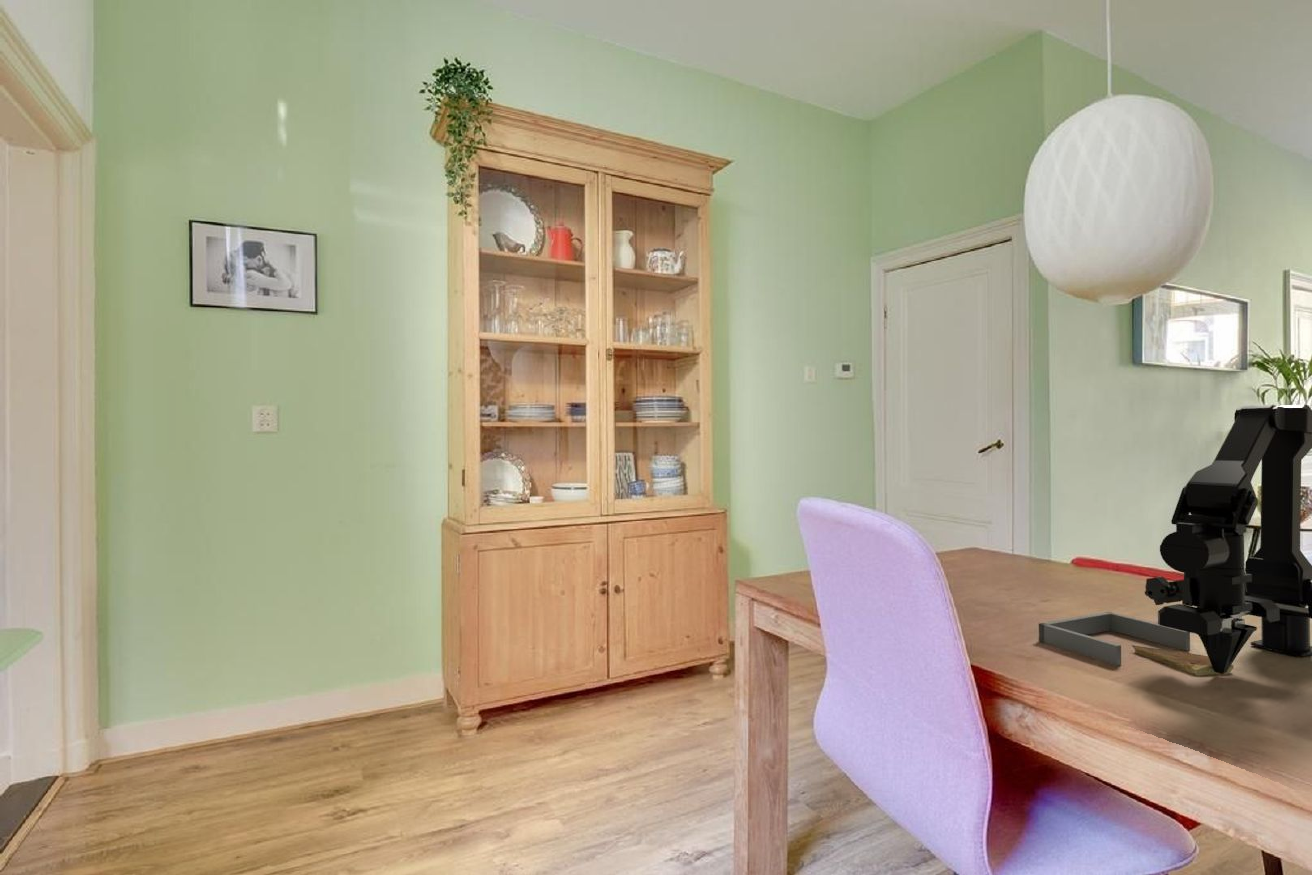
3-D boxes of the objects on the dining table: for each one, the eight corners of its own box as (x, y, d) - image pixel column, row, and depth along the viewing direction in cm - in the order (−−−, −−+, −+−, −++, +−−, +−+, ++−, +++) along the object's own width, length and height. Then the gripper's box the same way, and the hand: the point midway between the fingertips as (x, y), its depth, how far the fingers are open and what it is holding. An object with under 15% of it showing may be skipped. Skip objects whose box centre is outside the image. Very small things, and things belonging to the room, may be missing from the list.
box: (1108, 628, 118) (1108, 611, 118) (1190, 649, 106) (1189, 631, 106) (1038, 640, 111) (1038, 623, 111) (1116, 665, 99) (1116, 645, 99)
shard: (1131, 654, 105) (1131, 643, 105) (1173, 651, 106) (1173, 640, 106) (1194, 679, 95) (1194, 666, 95) (1240, 676, 95) (1240, 663, 95)
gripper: (1193, 551, 105) (1195, 647, 105) (1118, 561, 98) (1120, 664, 98) (1280, 563, 95) (1282, 670, 95) (1204, 575, 88) (1206, 690, 88)
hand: (1220, 672), depth 94 cm, fingers closed
